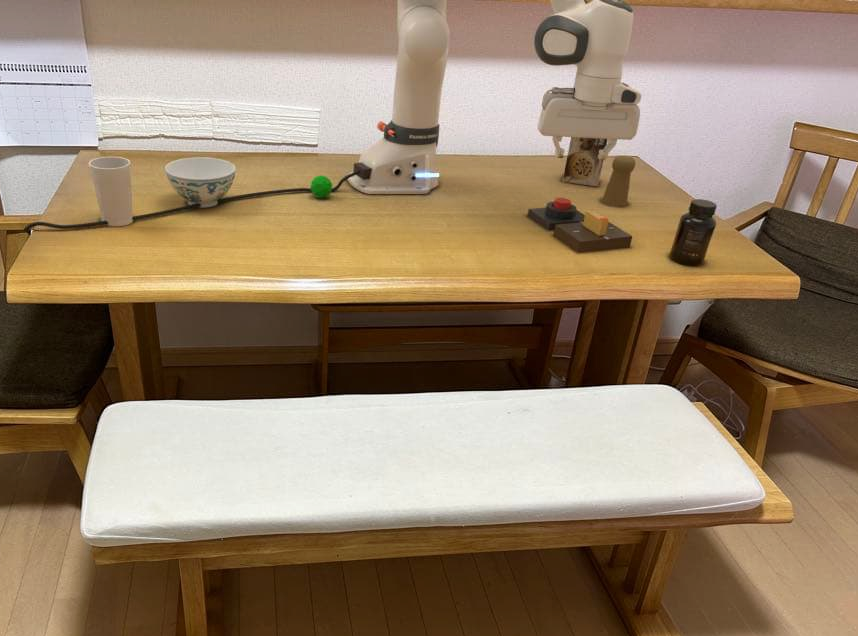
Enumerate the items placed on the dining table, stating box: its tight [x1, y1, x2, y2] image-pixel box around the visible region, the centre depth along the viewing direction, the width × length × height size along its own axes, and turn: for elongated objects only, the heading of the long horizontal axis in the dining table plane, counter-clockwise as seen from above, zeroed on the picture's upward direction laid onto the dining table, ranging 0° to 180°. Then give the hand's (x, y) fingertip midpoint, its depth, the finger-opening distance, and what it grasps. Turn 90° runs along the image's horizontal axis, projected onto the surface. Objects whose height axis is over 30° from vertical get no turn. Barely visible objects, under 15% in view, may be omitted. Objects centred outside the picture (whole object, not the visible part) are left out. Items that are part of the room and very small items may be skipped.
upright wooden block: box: [583, 210, 610, 236], centre depth 158 cm, size 6×2×3 cm, turn 21°
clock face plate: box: [553, 221, 633, 254], centre depth 160 cm, size 13×10×3 cm
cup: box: [88, 156, 134, 227], centre depth 153 cm, size 8×8×12 cm
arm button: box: [553, 197, 572, 210], centre depth 168 cm, size 4×4×2 cm
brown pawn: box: [601, 155, 636, 208], centre depth 179 cm, size 6×6×11 cm
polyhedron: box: [310, 175, 333, 199], centre depth 173 cm, size 5×5×5 cm
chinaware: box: [164, 156, 237, 209], centre depth 165 cm, size 15×15×8 cm
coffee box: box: [561, 137, 608, 187], centre depth 190 cm, size 9×6×16 cm
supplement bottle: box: [669, 198, 717, 267], centre depth 152 cm, size 7×7×12 cm
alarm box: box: [526, 201, 585, 231], centre depth 169 cm, size 11×9×4 cm
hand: (580, 158), depth 159 cm, fingers open, 8 cm apart
